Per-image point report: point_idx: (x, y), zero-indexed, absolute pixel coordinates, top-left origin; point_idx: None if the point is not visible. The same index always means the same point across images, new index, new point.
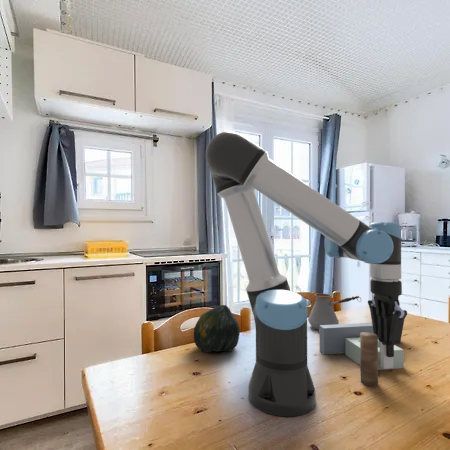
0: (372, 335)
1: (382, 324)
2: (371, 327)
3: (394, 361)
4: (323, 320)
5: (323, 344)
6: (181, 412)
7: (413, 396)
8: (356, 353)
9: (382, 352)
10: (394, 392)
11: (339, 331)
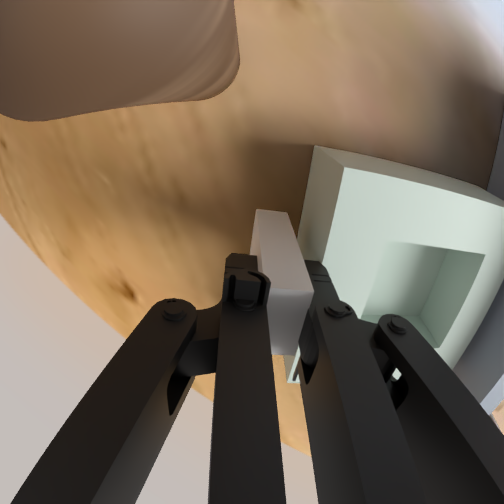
0: (16, 22)
1: (339, 450)
2: (487, 383)
3: None
4: None
5: None
6: None
7: (63, 176)
8: (427, 176)
9: (277, 250)
10: (96, 120)
11: None
